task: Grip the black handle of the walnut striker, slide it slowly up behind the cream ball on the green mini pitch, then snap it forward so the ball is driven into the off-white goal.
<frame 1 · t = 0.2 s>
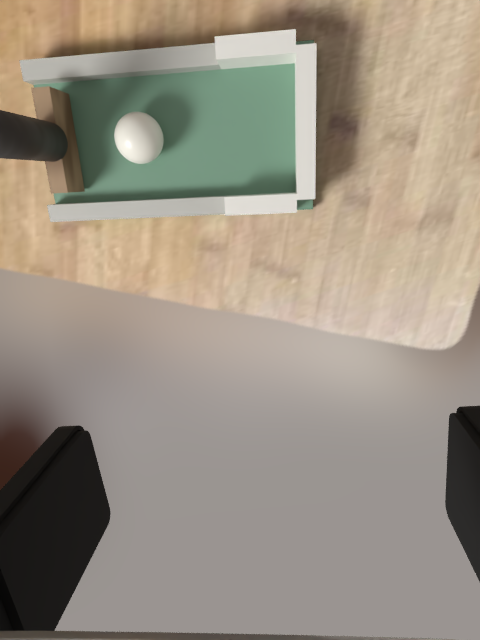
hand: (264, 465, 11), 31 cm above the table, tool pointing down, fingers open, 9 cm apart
striker: (33, 139, 32), point 7 cm above the table, slide at 0.0 cm
ball: (139, 138, 35), point 3 cm above the table, touching pitch
pitch: (177, 139, 37), on the table
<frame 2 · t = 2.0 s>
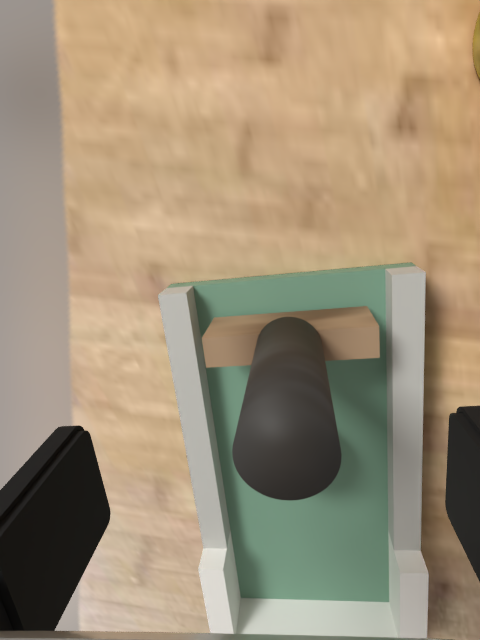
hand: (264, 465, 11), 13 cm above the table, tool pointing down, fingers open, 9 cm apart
striker: (288, 370, 17), point 7 cm above the table, slide at 0.0 cm
pitch: (301, 460, 26), on the table
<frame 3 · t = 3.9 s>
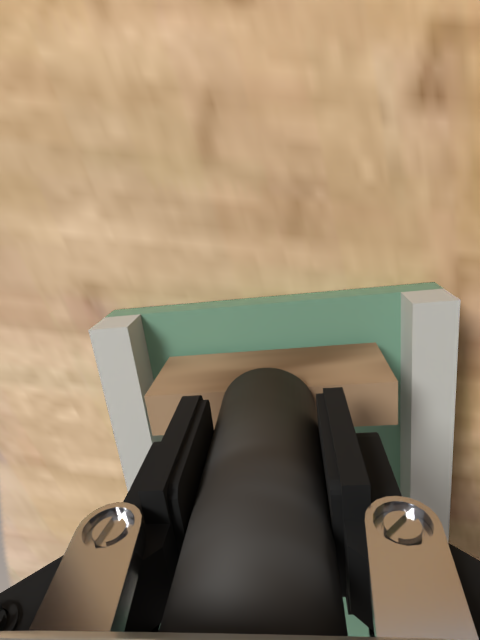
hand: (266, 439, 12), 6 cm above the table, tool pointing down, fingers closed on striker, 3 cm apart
striker: (265, 457, 11), point 7 cm above the table, slide at 0.0 cm, touching gripper
pitch: (289, 529, 21), on the table
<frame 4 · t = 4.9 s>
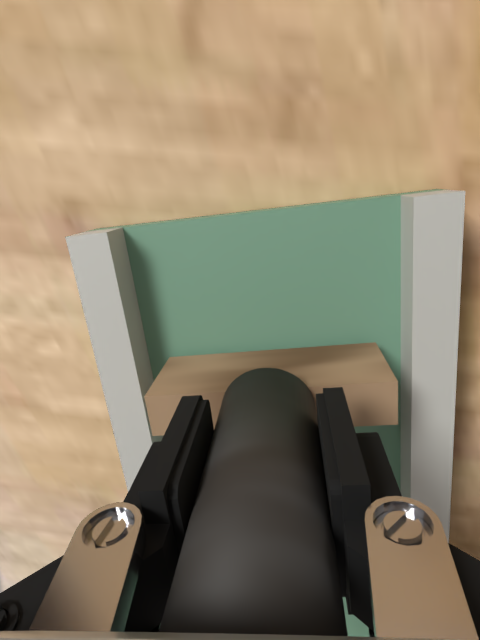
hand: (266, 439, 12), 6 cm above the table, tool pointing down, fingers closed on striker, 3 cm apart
striker: (265, 457, 11), point 7 cm above the table, slide at 3.4 cm, touching gripper
pitch: (284, 472, 19), on the table
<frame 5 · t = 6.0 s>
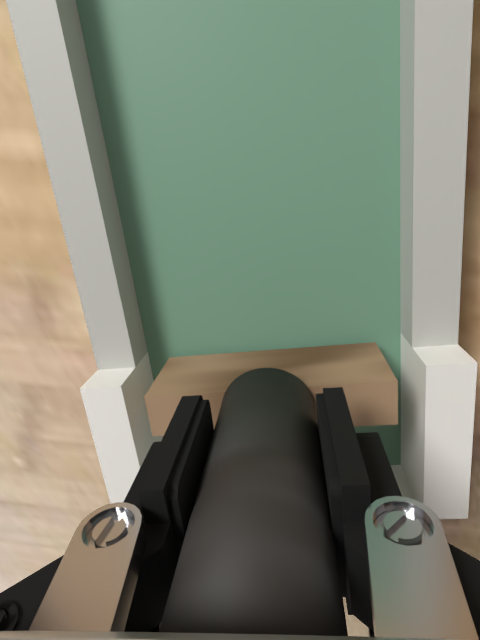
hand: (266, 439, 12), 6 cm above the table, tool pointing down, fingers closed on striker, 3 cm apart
striker: (265, 457, 11), point 7 cm above the table, slide at 14.9 cm, touching gripper
pitch: (258, 224, 16), on the table
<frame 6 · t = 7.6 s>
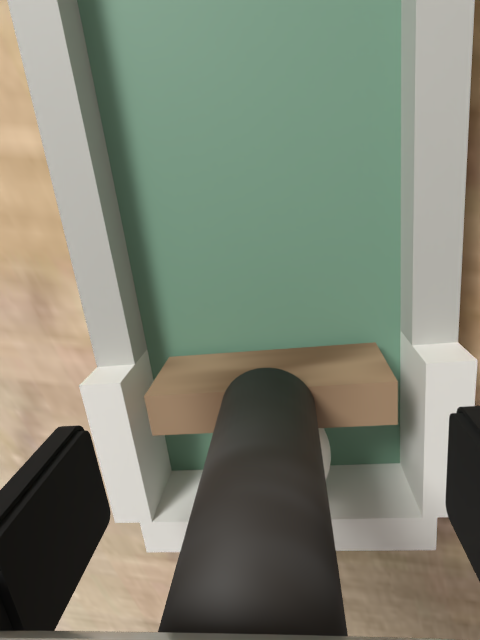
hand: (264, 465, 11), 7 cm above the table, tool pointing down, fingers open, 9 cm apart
striker: (264, 457, 11), point 7 cm above the table, slide at 15.0 cm
ball: (276, 452, 16), point 3 cm above the table, tilted 65°, touching pitch
pitch: (258, 221, 16), on the table
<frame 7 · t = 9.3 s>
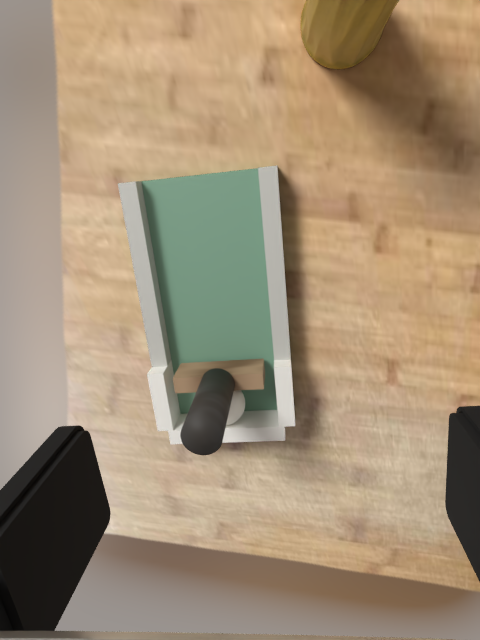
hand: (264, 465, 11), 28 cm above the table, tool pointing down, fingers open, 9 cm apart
striker: (213, 397, 34), point 7 cm above the table, slide at 15.0 cm
ball: (224, 403, 39), point 3 cm above the table, tilted 62°, touching pitch
vase: (341, 24, 31), on the table
pitch: (218, 308, 39), on the table
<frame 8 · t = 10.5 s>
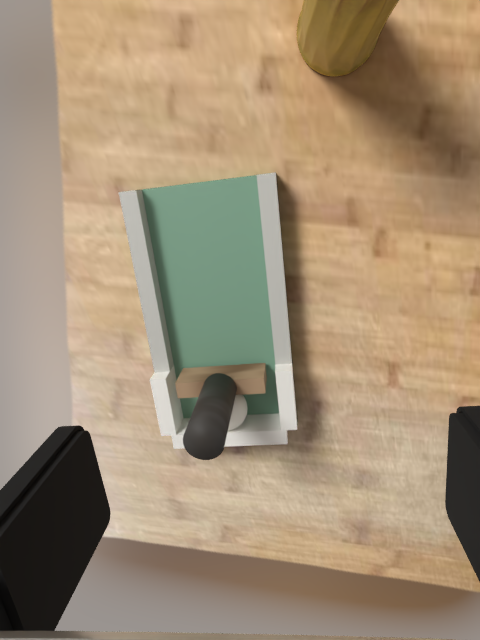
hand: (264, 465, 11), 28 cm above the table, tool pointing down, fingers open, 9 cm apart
striker: (215, 402, 35), point 7 cm above the table, slide at 15.0 cm
ball: (226, 408, 39), point 3 cm above the table, tilted 59°, touching pitch
vase: (337, 32, 32), on the table
pitch: (219, 314, 40), on the table
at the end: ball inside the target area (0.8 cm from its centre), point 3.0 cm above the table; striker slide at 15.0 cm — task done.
